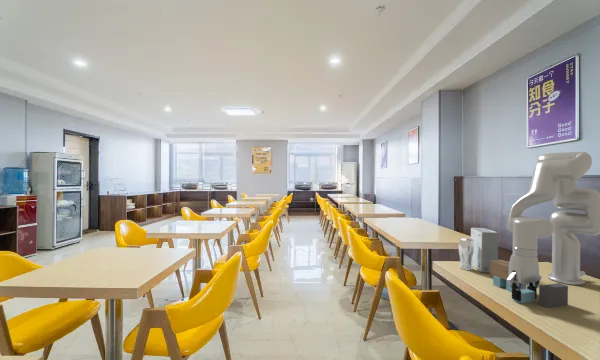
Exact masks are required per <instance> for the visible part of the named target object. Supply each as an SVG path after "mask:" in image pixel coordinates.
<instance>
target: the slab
mask: <svg viewBox="0 0 600 360" xmlns="http://www.w3.org/2000/svg"><path fill="white" fill-rule="evenodd" d="M509 263H510V261H506V260H503V259H498V260H493V261H490V272H489V274H490V275H491V276H496V277H499V278H502V279H505V280H507V278H508V272H509ZM516 281H518V280H516ZM516 284H518V283H516Z"/></svg>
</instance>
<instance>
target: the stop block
mask: <svg viewBox="0 0 600 360" xmlns="http://www.w3.org/2000/svg"><path fill="white" fill-rule="evenodd" d="M538 288H539V289H538V306H542V307H544V308H547V309H551V308H557V307H563V306H567V305H569V304H568V303H569V301H568V300H569V299H568V298H569V285H568V284H564V283H560V282H557V283H550V284H549V283H548V284H542V285H538Z"/></svg>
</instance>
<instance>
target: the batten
mask: <svg viewBox="0 0 600 360" xmlns="http://www.w3.org/2000/svg"><path fill="white" fill-rule="evenodd" d="M520 291H521V301H517V300H515V299H512V300H513V301H514V302H517V303H519V304H526V303H534V302H536V299H535V292H534V291H531V290H529V289H527V288H526V289H522V290H520Z"/></svg>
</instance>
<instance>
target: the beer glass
mask: <svg viewBox="0 0 600 360" xmlns="http://www.w3.org/2000/svg"><path fill="white" fill-rule="evenodd" d="M458 254H459V260H460V262H459V269H460V270H464V271H473V270H474V268H473V267H474V266H473V265H472V259H473V254H474V240H473V239H471V238H468V237H467V238H465V237H462V238H461V237H460V238H459V240H458Z"/></svg>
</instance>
